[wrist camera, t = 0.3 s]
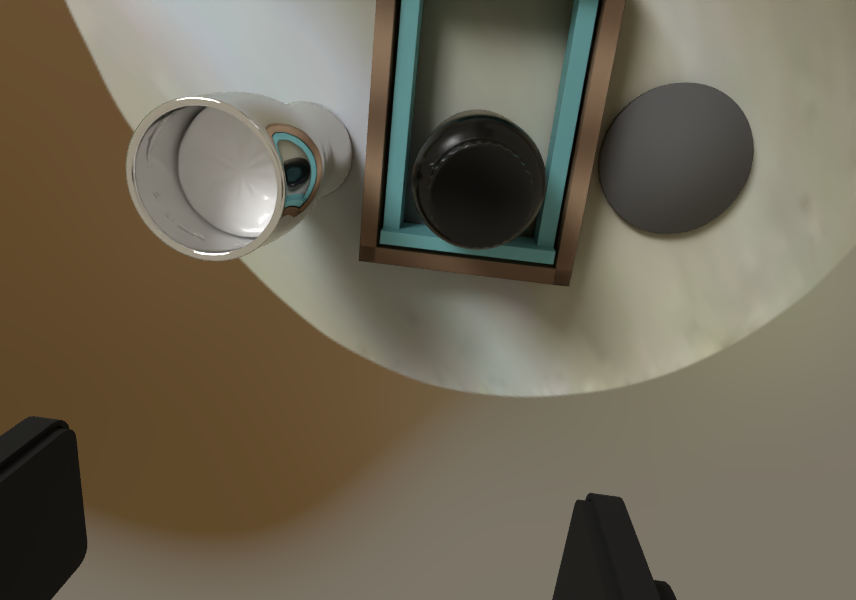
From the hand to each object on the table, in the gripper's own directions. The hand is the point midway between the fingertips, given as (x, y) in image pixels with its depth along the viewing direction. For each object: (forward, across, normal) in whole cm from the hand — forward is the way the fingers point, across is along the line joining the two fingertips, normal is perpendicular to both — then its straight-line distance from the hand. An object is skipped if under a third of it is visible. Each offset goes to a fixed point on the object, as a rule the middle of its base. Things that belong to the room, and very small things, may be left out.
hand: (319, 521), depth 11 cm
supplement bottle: (+29, -3, -4) cm, 30 cm away
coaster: (+29, -15, -6) cm, 33 cm away
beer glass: (+29, +8, -4) cm, 31 cm away
